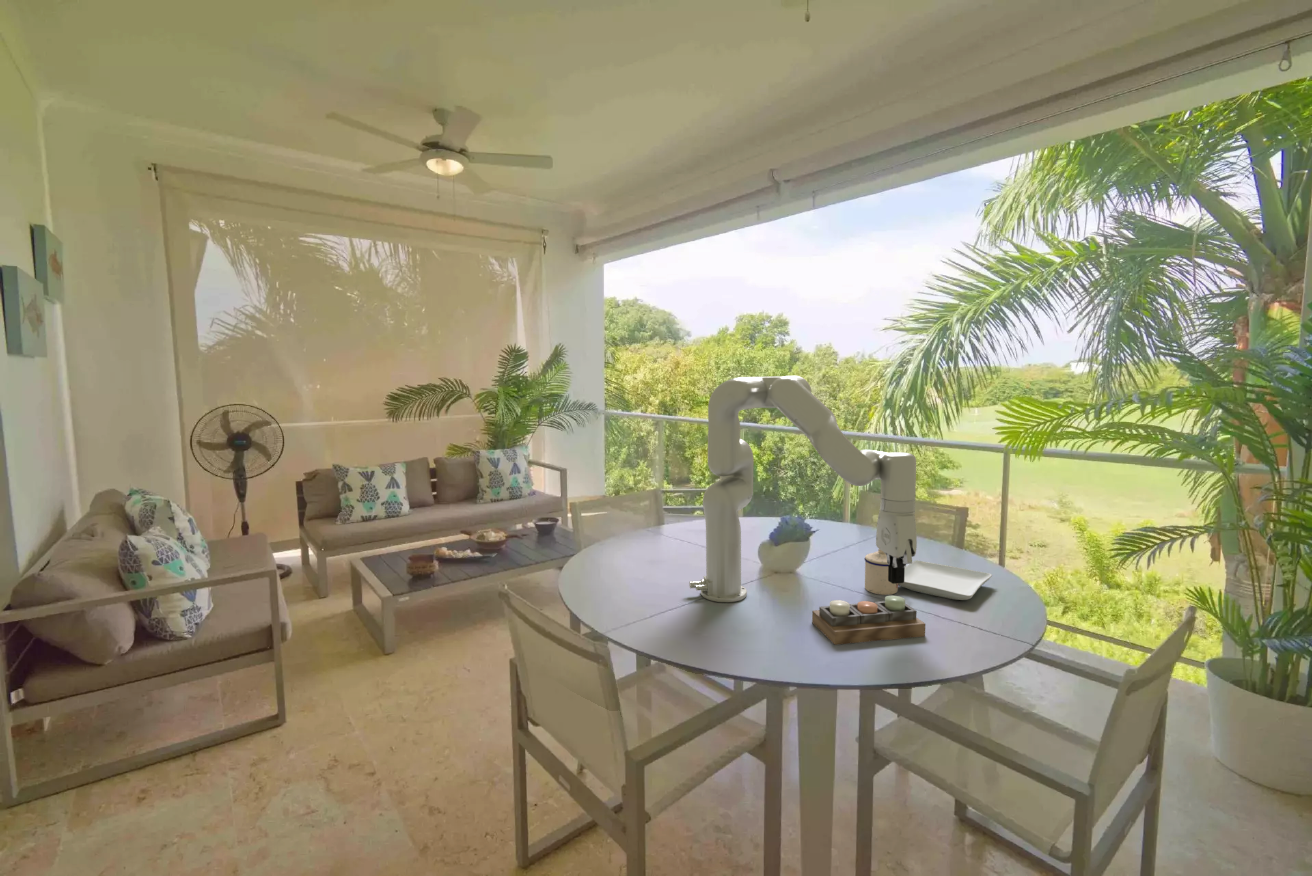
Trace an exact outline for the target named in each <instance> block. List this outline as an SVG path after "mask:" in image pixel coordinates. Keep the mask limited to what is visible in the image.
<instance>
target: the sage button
mask: <svg viewBox="0 0 1312 876" xmlns="http://www.w3.org/2000/svg"><path fill="white" fill-rule="evenodd" d="M884 601H885V608H886V609H888V610H889V611H891V612H893V611H904V610H905V604H906V599H905V598H904V597H902V596H899V595H898V596H897V595H885V597H884Z"/></svg>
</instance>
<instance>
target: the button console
mask: <svg viewBox="0 0 1312 876" xmlns="http://www.w3.org/2000/svg"><path fill="white" fill-rule="evenodd" d="M872 602H873V603H875V604H877V606H878V607H877V613H870V614H862V613H861V612H859V611H858V610H857V609H858V602H857V603H849V604H850V609H849V615H847V616H833V615H832V614H831V613H830V605H823V606H819V608H818V609H815V610H811V611H812V613H811V615H812V616H811V617H812V619H811V622H812V624H813V625H814V626H815V627H816V628H818V631H820V632H821V633H822V634H824V635H825V637H826V638H827V639H829V641H831V643H833V644H834V646H836V645H847V644H848V645H849V644H856V643H857V644H859V643H869V642H878V641H888V640H889V641H890V640H901V639H907V638H908V639H911V638H919V637H926V623H925V622H924V621H922V620H921V619H919V618H918V617H917V613H918V612H917V610H916V609H915V608H913V607H912V606H910V605H908V604H906V603H905V610H904V611H893V612H891V611H889V610H888V609H886V608H885V600H883V601H882V600H881V601H872Z"/></svg>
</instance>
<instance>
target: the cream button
mask: <svg viewBox="0 0 1312 876" xmlns="http://www.w3.org/2000/svg"><path fill="white" fill-rule="evenodd" d="M850 604H851V603H849V602H847V601H846V600H841V599H835V600H831V601H830V602H829V606H830V613H831V614H832V615H833V616H847V615H849V609H850Z"/></svg>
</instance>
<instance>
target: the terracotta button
mask: <svg viewBox="0 0 1312 876" xmlns="http://www.w3.org/2000/svg"><path fill="white" fill-rule="evenodd" d="M873 602H874V601H867V600H863V601H862V600H861V601H858V602H857V603H858V609H857V610H858V611H859V612H861V613H862V614H870V613H877V607H878V606H877V604H875V603H873Z"/></svg>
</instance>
